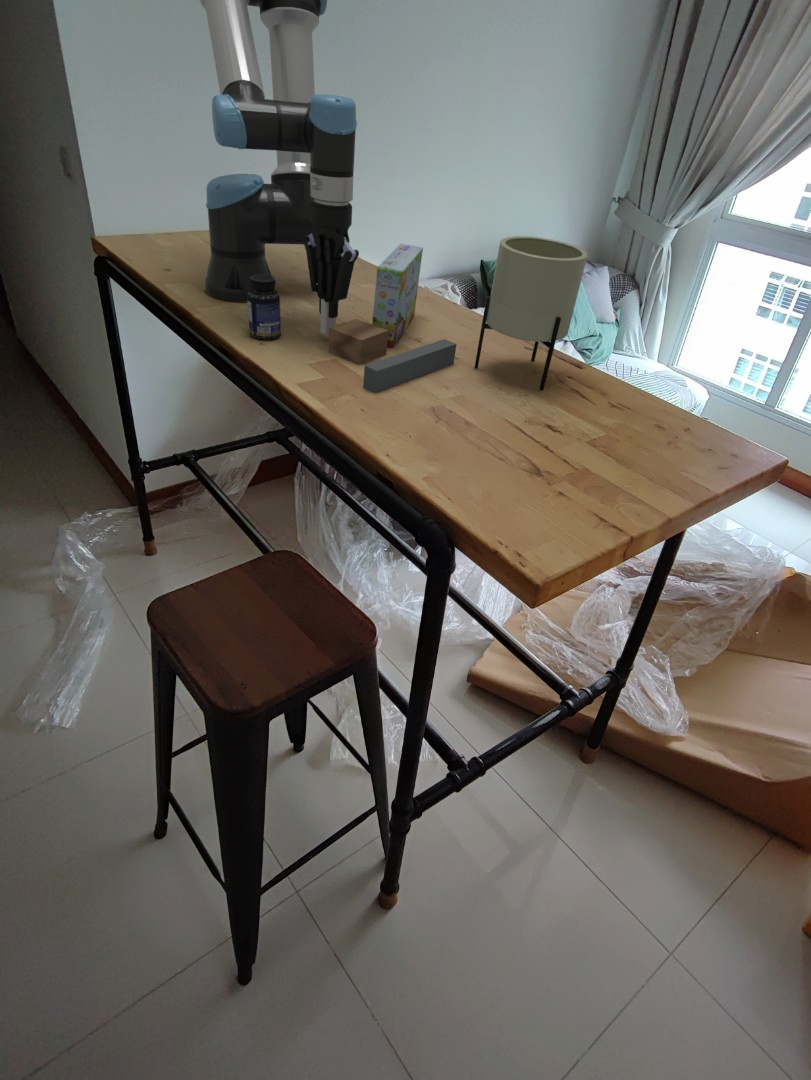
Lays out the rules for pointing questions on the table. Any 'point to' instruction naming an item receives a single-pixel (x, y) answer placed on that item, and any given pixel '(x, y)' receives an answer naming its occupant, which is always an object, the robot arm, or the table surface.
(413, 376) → the gray rectangular bar
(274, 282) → the pill bottle
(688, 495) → the table surface
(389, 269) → the snack box
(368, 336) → the block
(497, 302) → the planter
